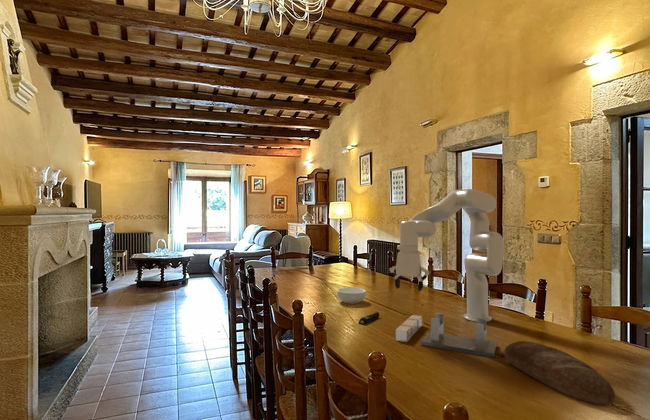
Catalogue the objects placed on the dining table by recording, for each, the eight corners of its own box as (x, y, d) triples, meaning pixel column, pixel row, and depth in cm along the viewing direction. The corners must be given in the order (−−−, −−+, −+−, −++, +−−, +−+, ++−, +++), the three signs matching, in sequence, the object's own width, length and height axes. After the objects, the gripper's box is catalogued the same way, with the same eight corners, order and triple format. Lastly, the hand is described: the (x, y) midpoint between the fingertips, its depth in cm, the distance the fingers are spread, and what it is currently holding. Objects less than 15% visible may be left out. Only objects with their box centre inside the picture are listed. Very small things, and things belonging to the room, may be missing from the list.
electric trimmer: (381, 318, 180) (381, 312, 180) (364, 326, 168) (364, 319, 168) (374, 317, 182) (374, 310, 182) (357, 324, 170) (357, 317, 170)
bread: (528, 353, 134) (528, 330, 134) (632, 404, 98) (632, 373, 98) (491, 357, 130) (491, 334, 130) (585, 411, 95) (585, 379, 95)
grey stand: (428, 335, 153) (428, 310, 154) (496, 346, 141) (496, 318, 141) (420, 345, 142) (420, 318, 142) (494, 357, 129) (493, 328, 129)
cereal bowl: (367, 305, 203) (367, 293, 203) (337, 306, 203) (337, 293, 203) (364, 298, 220) (364, 287, 220) (336, 298, 220) (336, 287, 220)
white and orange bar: (412, 324, 168) (412, 314, 169) (422, 326, 166) (422, 315, 166) (395, 340, 148) (395, 329, 148) (406, 342, 145) (406, 330, 145)
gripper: (386, 249, 158) (386, 288, 158) (427, 251, 150) (426, 293, 149) (392, 247, 165) (392, 285, 164) (431, 249, 156) (431, 289, 156)
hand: (408, 289), depth 157 cm, fingers open, 9 cm apart
